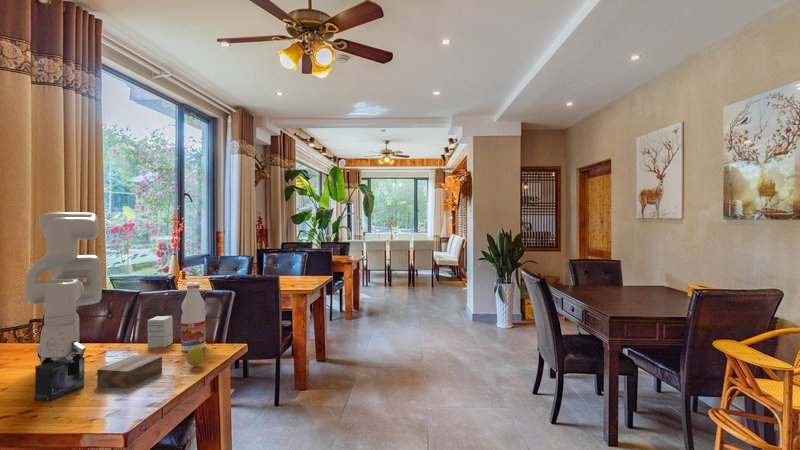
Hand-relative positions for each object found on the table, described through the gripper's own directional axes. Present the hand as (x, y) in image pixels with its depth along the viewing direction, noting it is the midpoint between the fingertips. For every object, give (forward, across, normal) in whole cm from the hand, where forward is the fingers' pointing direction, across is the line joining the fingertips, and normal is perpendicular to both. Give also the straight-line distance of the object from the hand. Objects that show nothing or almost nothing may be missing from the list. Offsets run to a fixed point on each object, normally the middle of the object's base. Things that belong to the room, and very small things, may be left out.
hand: (60, 373), depth 118 cm
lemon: (+7, +27, +26) cm, 39 cm away
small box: (+7, -1, 0) cm, 7 cm away
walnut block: (+7, +12, +14) cm, 20 cm away
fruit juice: (+6, +11, +46) cm, 48 cm away
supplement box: (+6, -7, +48) cm, 49 cm away
